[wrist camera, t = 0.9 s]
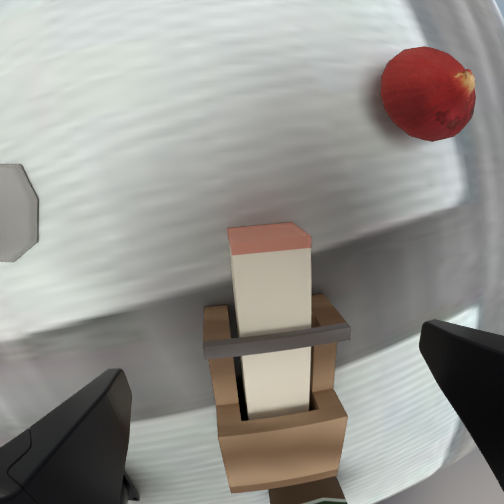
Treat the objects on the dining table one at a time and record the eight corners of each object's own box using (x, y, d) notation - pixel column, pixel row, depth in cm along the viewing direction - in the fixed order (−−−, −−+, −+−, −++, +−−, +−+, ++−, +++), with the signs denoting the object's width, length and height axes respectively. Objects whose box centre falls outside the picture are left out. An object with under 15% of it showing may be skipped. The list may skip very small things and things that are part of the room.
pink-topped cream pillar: (295, 398, 24) (307, 432, 20) (245, 405, 24) (251, 441, 20) (292, 222, 20) (311, 236, 16) (227, 228, 20) (231, 243, 16)
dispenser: (316, 425, 25) (336, 475, 19) (226, 439, 24) (231, 493, 19) (322, 293, 22) (357, 335, 16) (204, 307, 21) (202, 357, 15)
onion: (440, 113, 19) (519, 104, 12) (396, 159, 20) (477, 163, 12) (393, 49, 18) (465, 14, 10) (343, 91, 18) (411, 59, 11)
